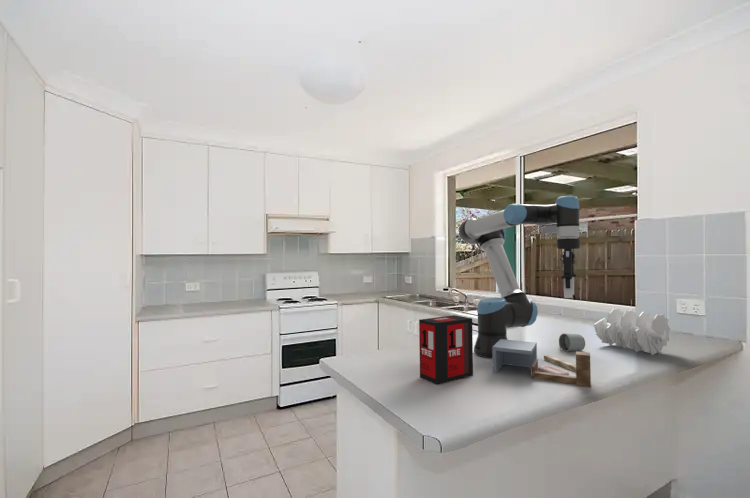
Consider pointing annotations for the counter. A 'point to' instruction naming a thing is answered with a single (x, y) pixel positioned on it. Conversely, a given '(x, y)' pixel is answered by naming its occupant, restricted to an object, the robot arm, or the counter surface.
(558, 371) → the soap bar
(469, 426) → the counter surface
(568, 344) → the ceramic mug
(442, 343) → the cleaning product box
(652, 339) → the spiral staircase
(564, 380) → the brown wooden bent piece
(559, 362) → the stick
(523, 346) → the grey storage bin
